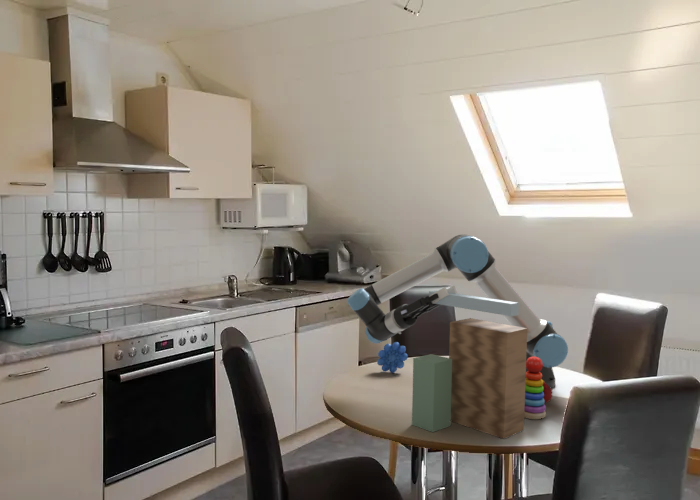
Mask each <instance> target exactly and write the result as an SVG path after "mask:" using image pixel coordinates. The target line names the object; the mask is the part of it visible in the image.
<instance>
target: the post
mask: <svg viewBox="0 0 700 500" xmlns="http://www.w3.org/2000/svg"><path fill="white" fill-rule="evenodd" d="M412 361H413V362H412V368H413V369H412V403H411V405H412V408H411V411H412V412H411V425H412V426H414V427H417V428H421V429H423V430H426V431H428V432H431V433H434V432H437V431H440V430H443V429H445V428H449V427H451V422H452V421H451V386H452V359H450V358H449V357H447V356H441V355H437V354H432V353H430V354H425V355H422V356H417V357H413V359H412Z"/></svg>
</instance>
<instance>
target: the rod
mask: <svg viewBox="0 0 700 500" xmlns="http://www.w3.org/2000/svg"><path fill="white" fill-rule="evenodd" d="M437 291H438V290H431V291H428V296H429V297H430V295H432V294H433V293H435V292H437ZM448 294H449V295H448V296H447V297H445V298H443V299H441V300H439V301H438V302H436V303H434V304H440V306H448V307H455V308H458V309H465V310H471V311H476V312H477V311H478V312H484V313H489V314H495V315H501V316H503V315H506V316H515V315H518V308H519V303H517V302H511V301H504V300H497V299H490V298H488V297H484V296H483V297H482V296H475V295H470V294H469V295H468V294H463V293H457V294H456V293H449V292H448ZM431 303H432V302H431Z"/></svg>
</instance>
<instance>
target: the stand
mask: <svg viewBox="0 0 700 500" xmlns="http://www.w3.org/2000/svg"><path fill="white" fill-rule="evenodd" d="M448 351H449V353H448V358H450V359H452V386H451V422H452V423H455V424H457V425H458V424H459V425H461V426H464V427H468V428H471V429H473V430H476V431H480V432H483V433H485V434H488V435H492V436H493V437H497V438H501V439H503V438H505V439H507V438H509V437H512V436H514V435H516V434H518V432H519V433H521V432H523V431H524V430H525V429H524V427H525V417H524V408H525V380H526V353H527V328H523V327H517V326H511V324H505V323H500V322H494V321H487V320H483V319H478V318H471V317H469V318H465V319H459V320H458V319H457V320H454V321H450V322H449V349H448ZM522 430H523V431H522ZM520 431H521V432H520ZM515 433H516V434H515ZM513 434H514V435H513ZM511 435H512V436H511Z"/></svg>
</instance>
